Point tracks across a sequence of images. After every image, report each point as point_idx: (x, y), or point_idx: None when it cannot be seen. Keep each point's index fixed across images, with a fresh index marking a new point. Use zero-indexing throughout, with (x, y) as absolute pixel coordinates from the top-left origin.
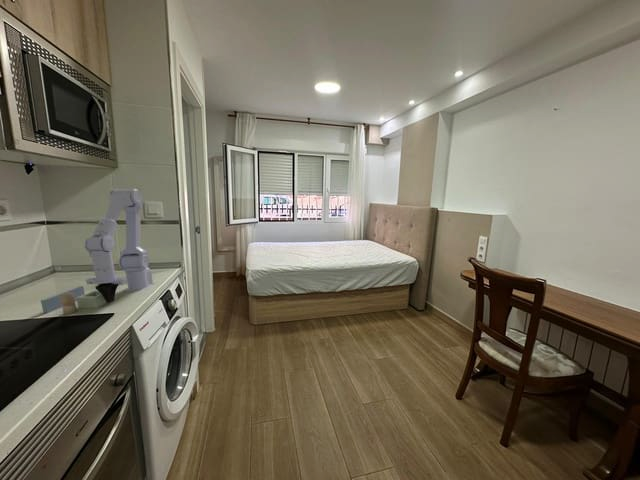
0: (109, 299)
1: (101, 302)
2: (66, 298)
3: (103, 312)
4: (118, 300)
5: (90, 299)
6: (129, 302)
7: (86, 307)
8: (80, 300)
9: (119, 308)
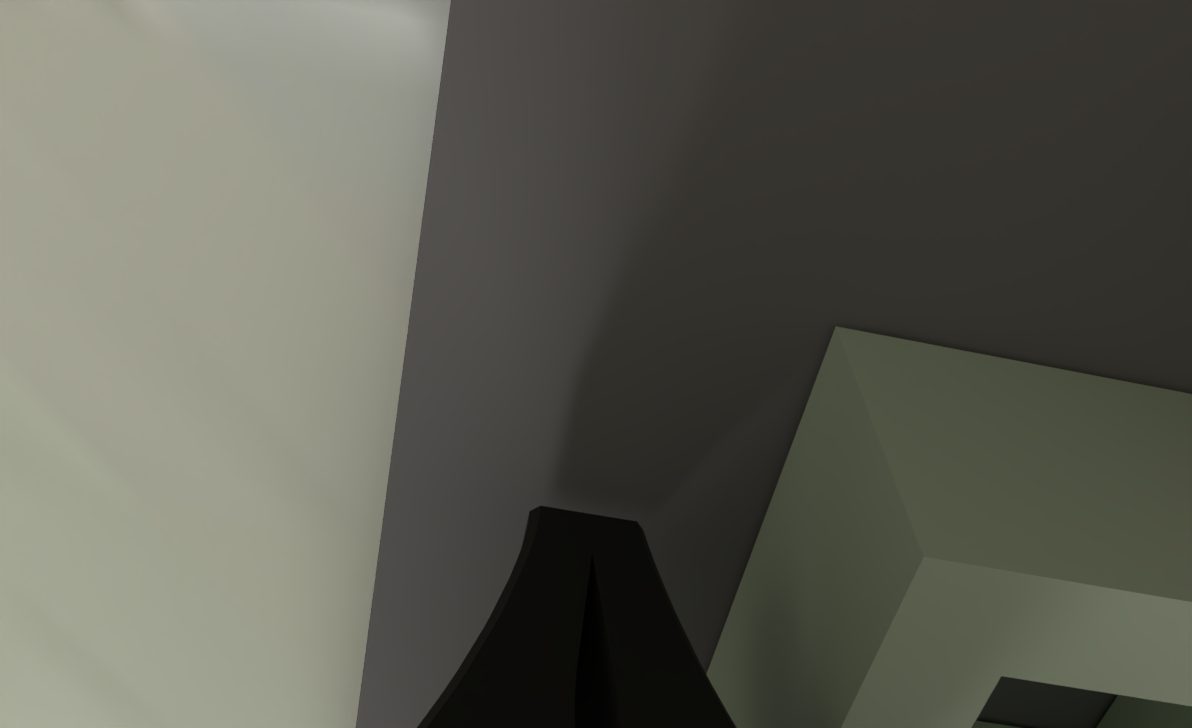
0: (514, 573)
1: (792, 536)
2: None
3: (443, 14)
4: None
5: (1080, 535)
6: (170, 567)
7: (1154, 392)
8: None
9: (133, 234)
